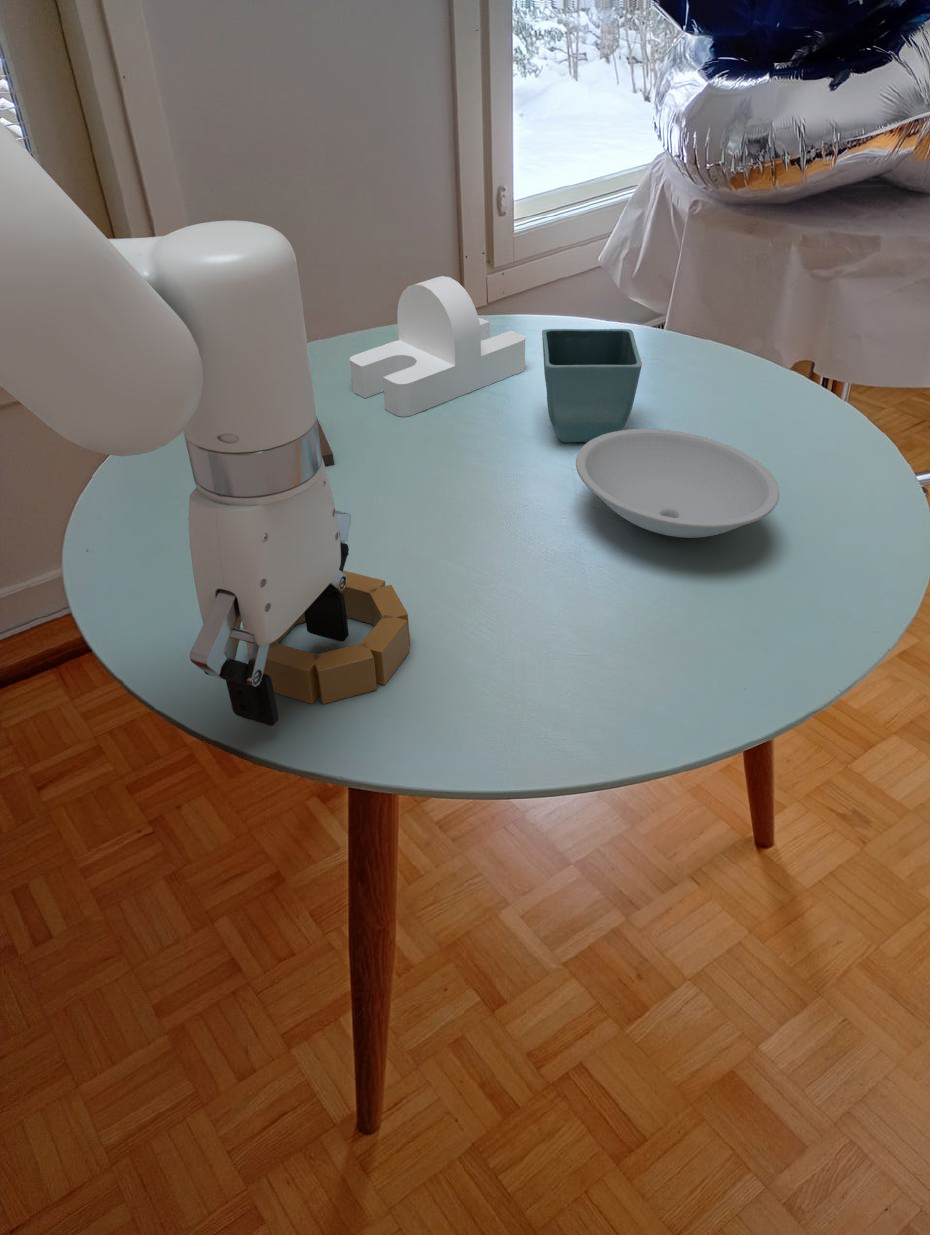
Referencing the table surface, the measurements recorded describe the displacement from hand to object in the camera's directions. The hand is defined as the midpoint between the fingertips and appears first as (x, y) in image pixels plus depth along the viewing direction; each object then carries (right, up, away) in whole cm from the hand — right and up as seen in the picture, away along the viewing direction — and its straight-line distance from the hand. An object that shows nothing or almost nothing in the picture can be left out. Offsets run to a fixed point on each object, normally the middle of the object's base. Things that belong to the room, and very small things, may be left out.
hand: (294, 674), depth 68 cm
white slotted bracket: (+9, +30, +41) cm, 51 cm away
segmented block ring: (+2, +2, +4) cm, 5 cm away
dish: (+29, +12, +17) cm, 36 cm away
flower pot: (+24, +22, +30) cm, 44 cm away
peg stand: (-7, +20, +29) cm, 36 cm away
